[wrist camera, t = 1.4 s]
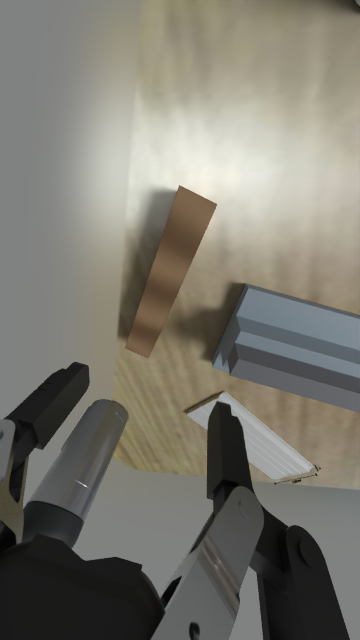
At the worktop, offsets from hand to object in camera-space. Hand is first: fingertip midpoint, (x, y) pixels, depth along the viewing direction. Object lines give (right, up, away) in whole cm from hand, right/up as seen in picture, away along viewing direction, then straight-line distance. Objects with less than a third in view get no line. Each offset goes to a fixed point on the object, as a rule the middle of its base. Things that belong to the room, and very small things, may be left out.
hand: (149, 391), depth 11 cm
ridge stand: (+18, +1, +16) cm, 24 cm away
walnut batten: (0, +10, +15) cm, 18 cm away
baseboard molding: (+19, -22, +29) cm, 41 cm away
